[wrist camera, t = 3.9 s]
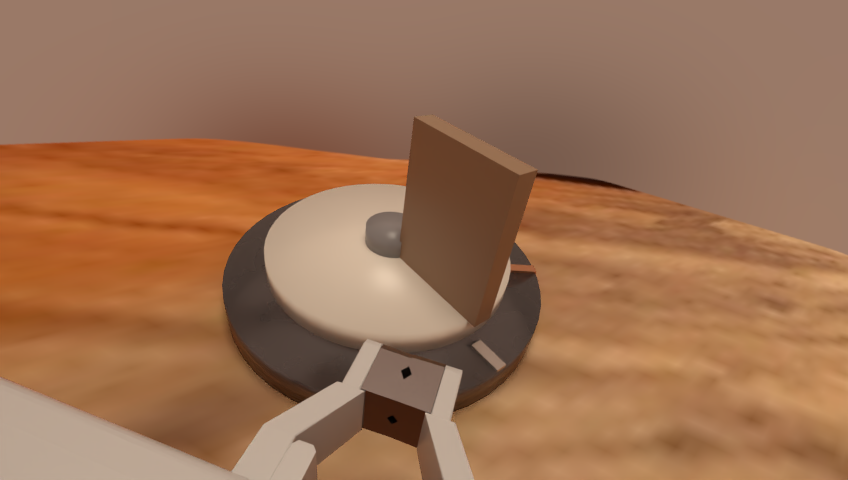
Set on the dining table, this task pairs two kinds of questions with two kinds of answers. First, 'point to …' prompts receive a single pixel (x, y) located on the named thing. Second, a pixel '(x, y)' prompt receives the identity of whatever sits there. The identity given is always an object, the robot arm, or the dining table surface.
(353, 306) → the dial
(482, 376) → the dial housing
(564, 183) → the dining table surface
